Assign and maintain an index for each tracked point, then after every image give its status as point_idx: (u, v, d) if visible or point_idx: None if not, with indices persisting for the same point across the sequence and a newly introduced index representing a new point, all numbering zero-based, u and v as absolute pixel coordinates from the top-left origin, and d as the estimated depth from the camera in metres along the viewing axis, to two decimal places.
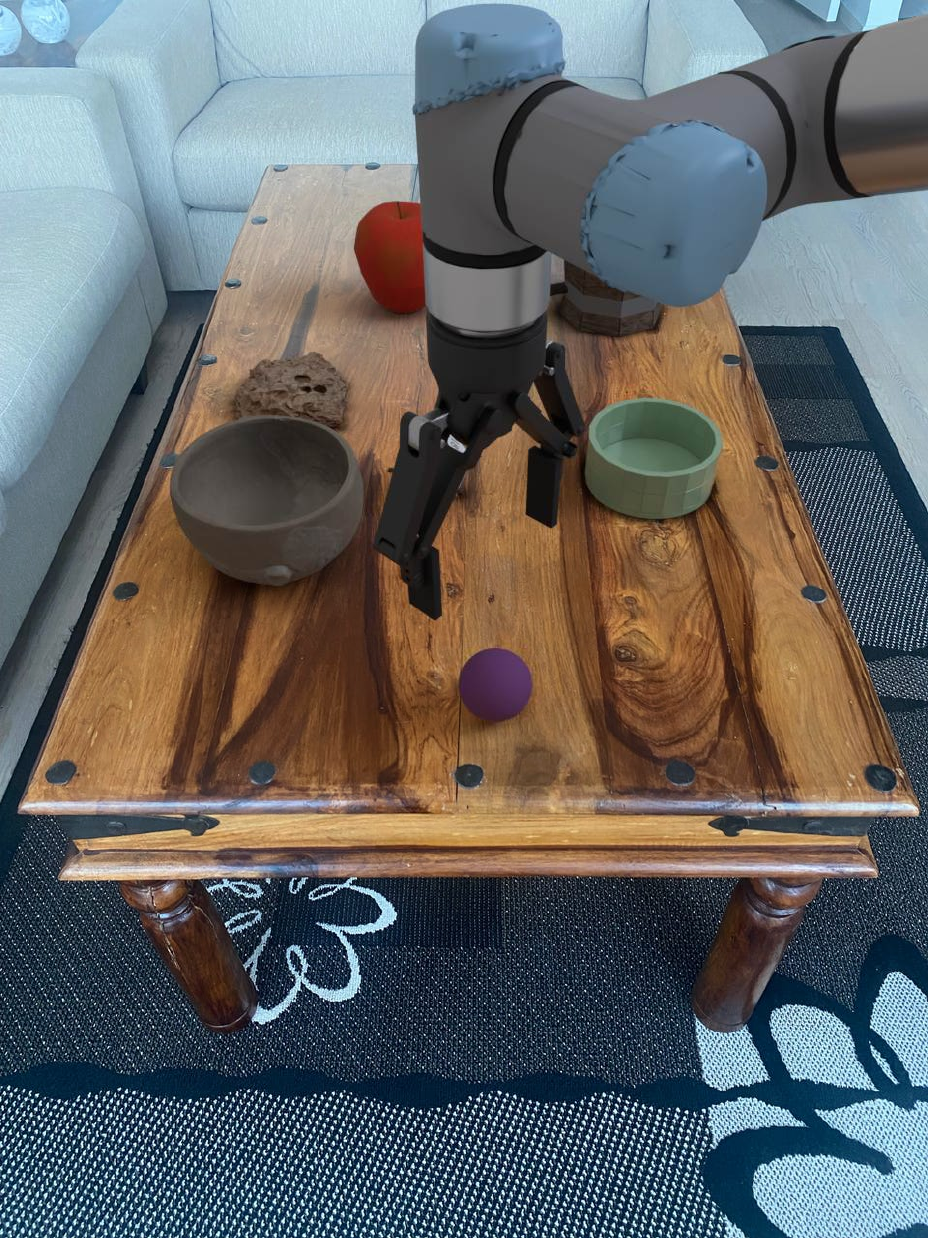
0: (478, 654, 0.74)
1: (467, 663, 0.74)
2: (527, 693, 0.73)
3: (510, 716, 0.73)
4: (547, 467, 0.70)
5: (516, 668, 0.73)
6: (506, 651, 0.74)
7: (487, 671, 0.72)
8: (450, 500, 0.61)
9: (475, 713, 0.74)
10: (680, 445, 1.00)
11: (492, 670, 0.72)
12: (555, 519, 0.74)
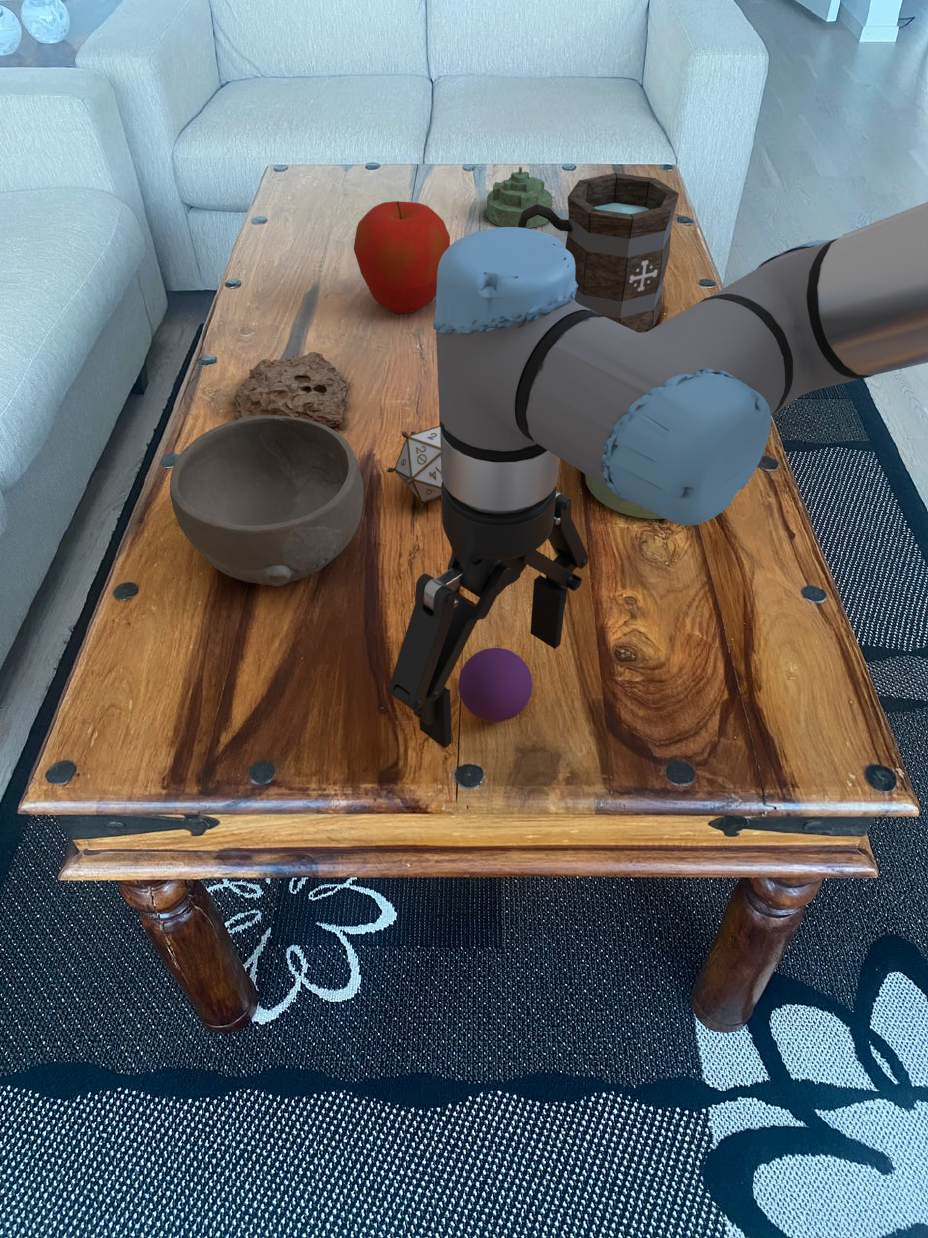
0: (478, 654, 0.74)
1: (467, 663, 0.74)
2: (527, 693, 0.73)
3: (510, 716, 0.73)
4: (552, 597, 0.74)
5: (516, 668, 0.73)
6: (506, 651, 0.74)
7: (487, 671, 0.72)
8: (462, 647, 0.65)
9: (475, 713, 0.74)
10: None
11: (492, 670, 0.72)
12: (559, 640, 0.77)
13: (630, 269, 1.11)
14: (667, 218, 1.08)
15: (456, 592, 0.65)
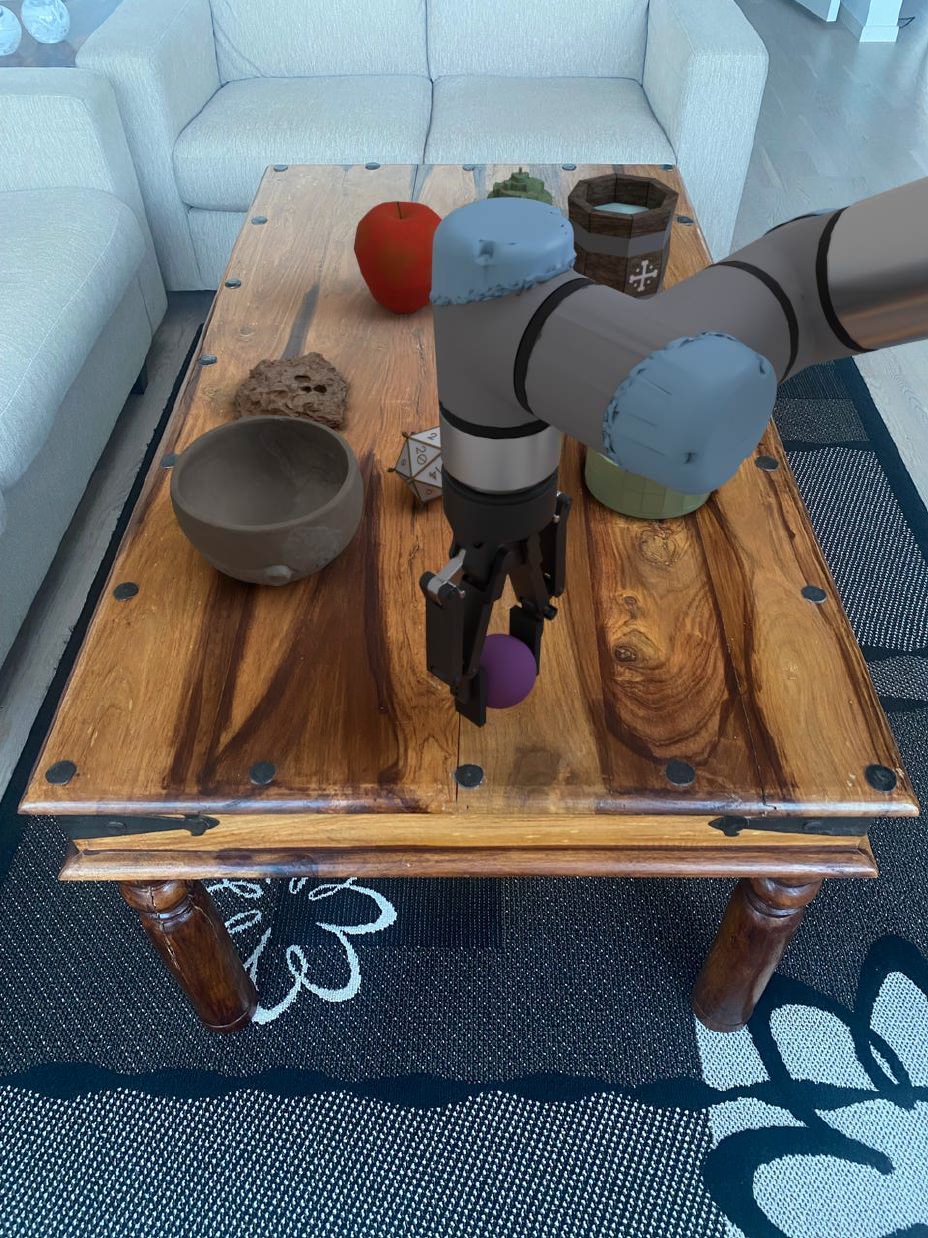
0: None
1: None
2: (531, 679, 0.71)
3: (514, 703, 0.72)
4: (528, 627, 0.72)
5: (520, 653, 0.71)
6: (509, 636, 0.72)
7: (490, 657, 0.70)
8: (486, 627, 0.65)
9: None
10: None
11: (495, 655, 0.70)
12: (537, 670, 0.76)
13: (630, 269, 1.11)
14: (667, 218, 1.08)
15: (468, 576, 0.64)
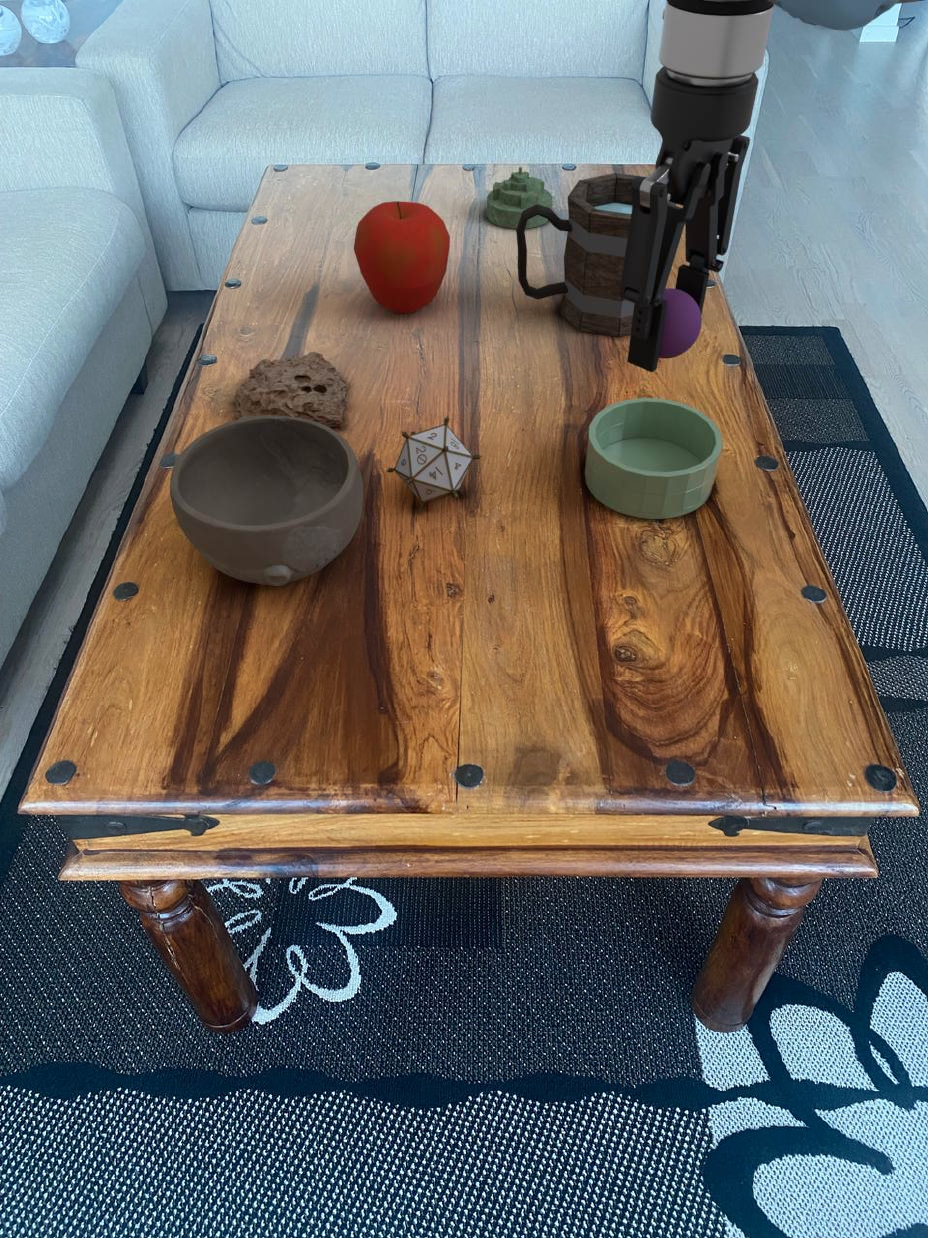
0: None
1: None
2: (699, 324, 0.81)
3: (683, 346, 0.81)
4: (696, 281, 0.82)
5: (691, 299, 0.81)
6: None
7: (666, 300, 0.80)
8: (675, 250, 0.75)
9: None
10: (680, 445, 1.00)
11: (670, 298, 0.80)
12: None
13: None
14: None
15: None
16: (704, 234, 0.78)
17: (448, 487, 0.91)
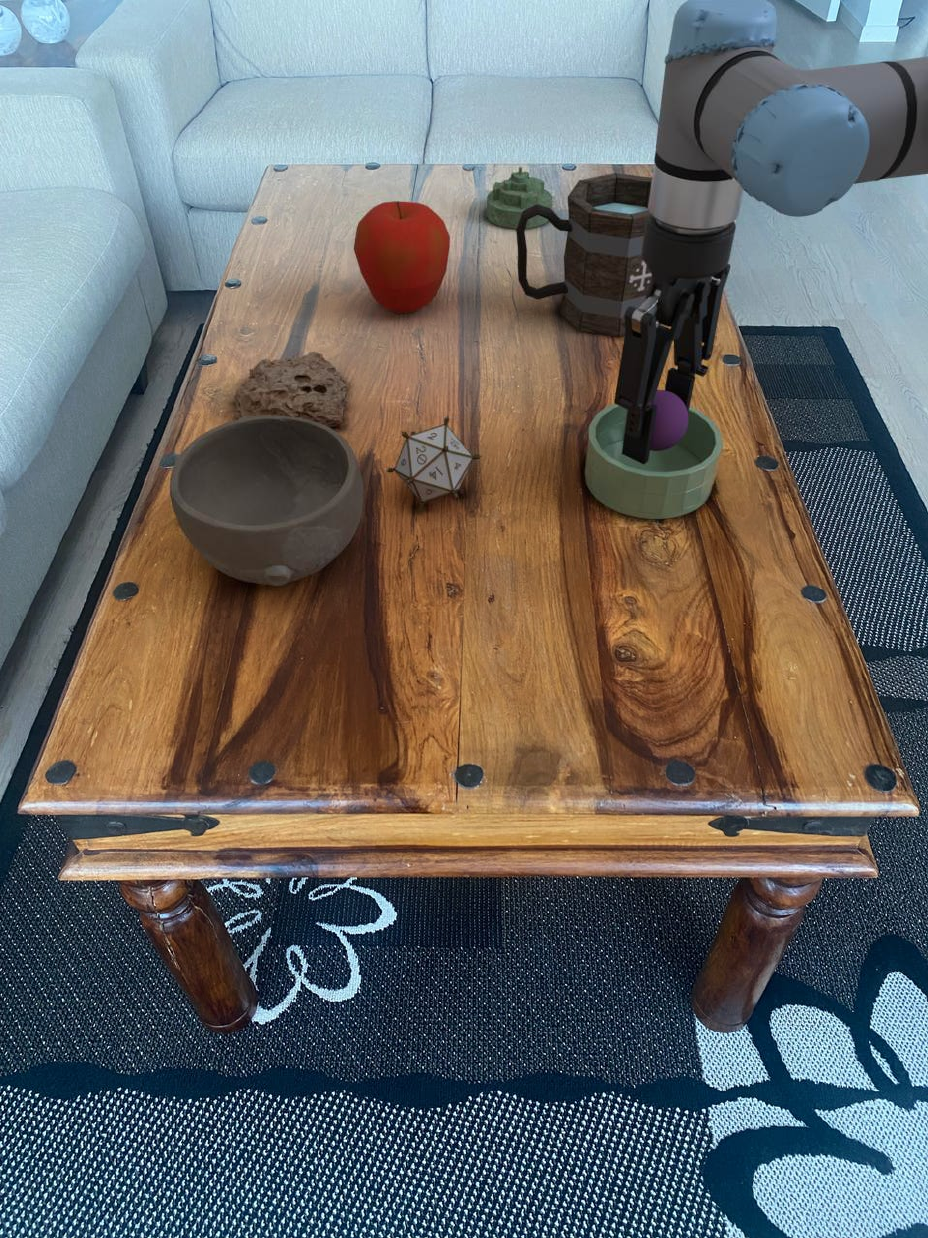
0: None
1: None
2: (686, 423, 0.91)
3: (672, 442, 0.91)
4: (683, 383, 0.91)
5: (678, 401, 0.90)
6: (668, 391, 0.91)
7: (656, 402, 0.90)
8: (663, 364, 0.84)
9: None
10: (680, 445, 1.00)
11: (660, 401, 0.90)
12: None
13: (630, 269, 1.11)
14: None
15: None
16: (690, 345, 0.88)
17: (448, 487, 0.91)
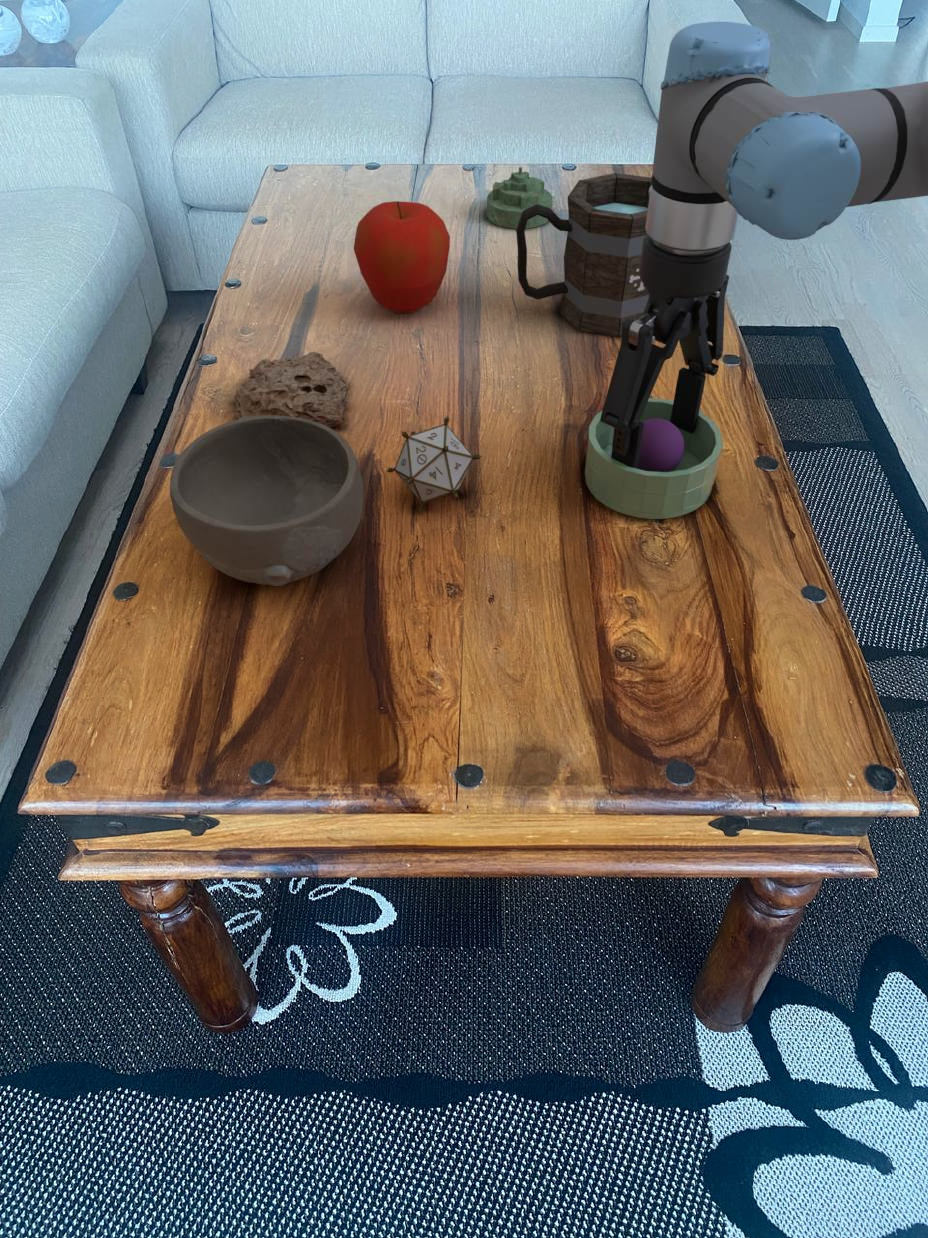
0: (644, 421, 0.94)
1: None
2: (682, 451, 0.93)
3: (668, 469, 0.94)
4: (694, 383, 0.93)
5: (676, 430, 0.93)
6: (665, 420, 0.94)
7: (654, 430, 0.92)
8: (654, 383, 0.85)
9: (640, 466, 0.94)
10: None
11: (658, 429, 0.92)
12: (695, 425, 0.96)
13: (630, 268, 1.11)
14: None
15: None
16: (697, 352, 0.90)
17: (448, 487, 0.91)
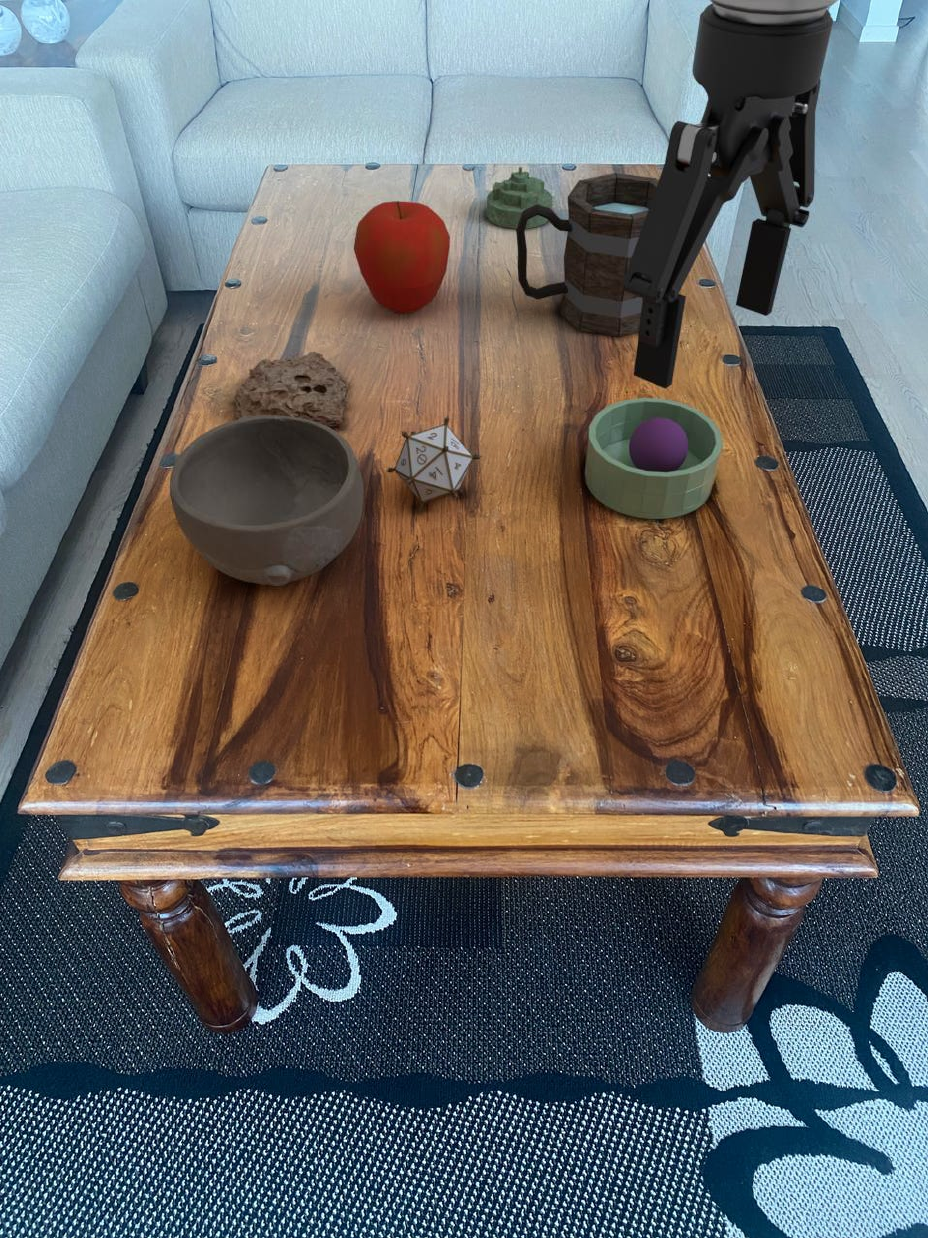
0: None
1: (642, 424, 0.94)
2: (686, 453, 0.94)
3: (671, 469, 0.94)
4: (774, 238, 0.67)
5: (682, 431, 0.93)
6: None
7: (662, 427, 0.92)
8: (705, 236, 0.58)
9: (644, 462, 0.93)
10: None
11: (666, 427, 0.92)
12: (771, 305, 0.70)
13: None
14: None
15: None
16: (777, 195, 0.64)
17: (448, 487, 0.91)
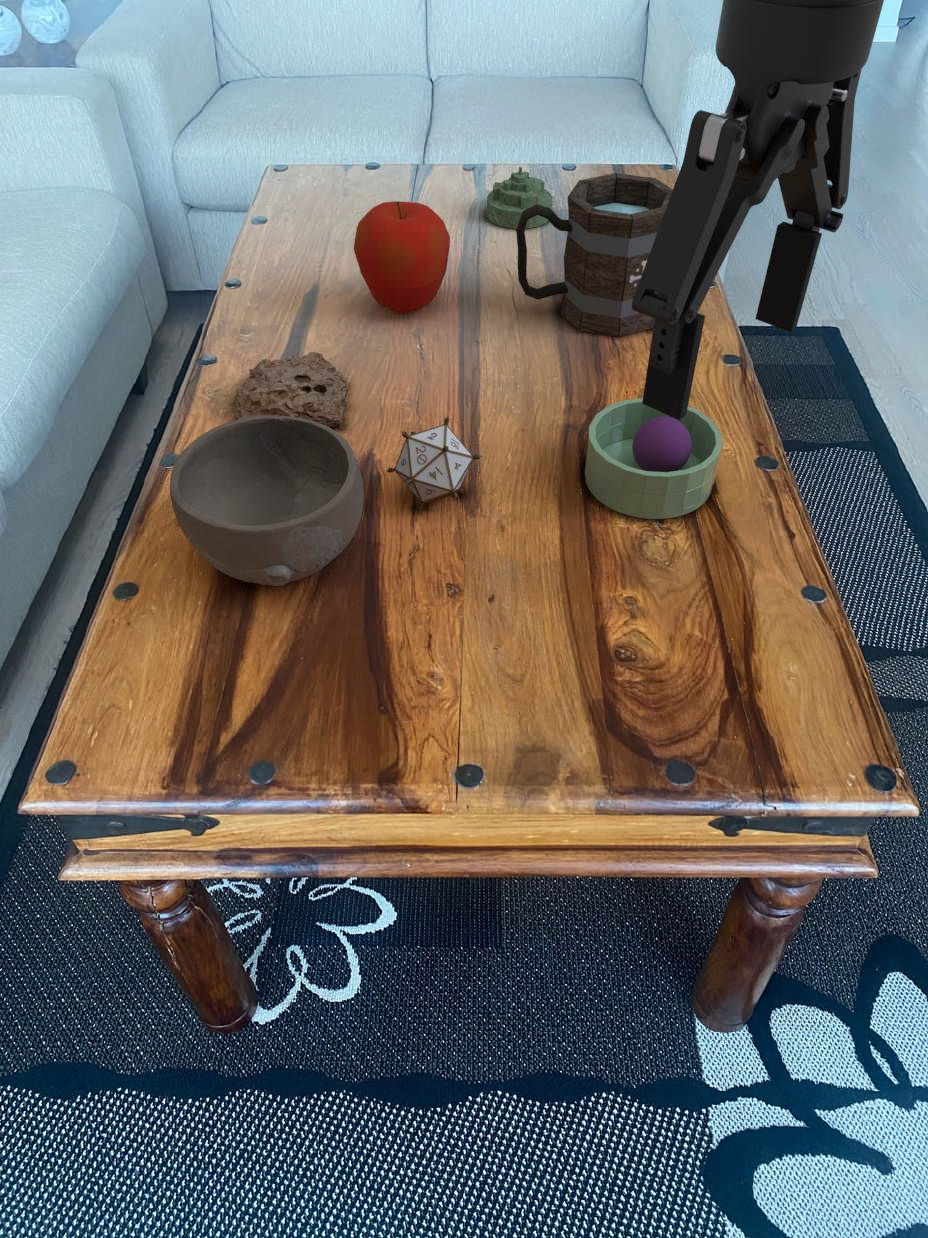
0: (657, 417, 0.94)
1: (648, 421, 0.94)
2: (689, 454, 0.94)
3: (673, 468, 0.94)
4: (802, 245, 0.58)
5: (687, 431, 0.94)
6: None
7: (669, 425, 0.92)
8: (729, 246, 0.49)
9: (648, 459, 0.93)
10: None
11: (673, 425, 0.93)
12: (797, 319, 0.62)
13: (630, 269, 1.11)
14: None
15: None
16: (808, 195, 0.55)
17: (448, 487, 0.91)
